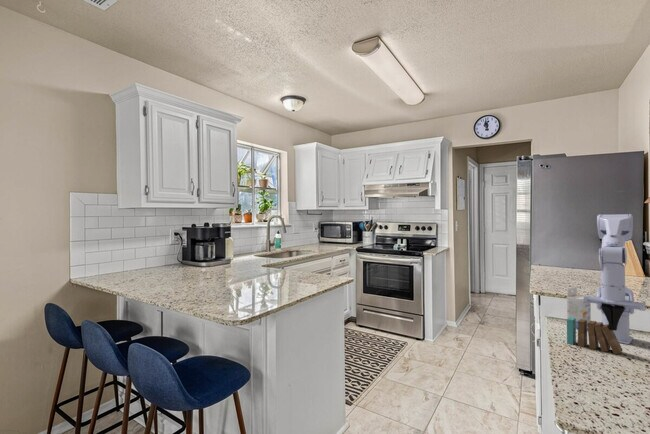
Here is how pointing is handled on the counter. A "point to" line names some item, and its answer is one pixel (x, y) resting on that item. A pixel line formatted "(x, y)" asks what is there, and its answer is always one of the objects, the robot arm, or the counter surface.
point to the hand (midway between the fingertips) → (613, 329)
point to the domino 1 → (571, 330)
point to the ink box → (577, 306)
